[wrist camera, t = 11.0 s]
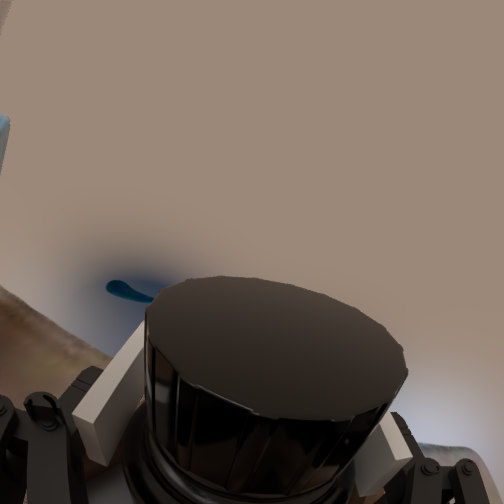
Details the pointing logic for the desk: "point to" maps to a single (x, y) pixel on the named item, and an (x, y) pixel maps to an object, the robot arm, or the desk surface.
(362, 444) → the ink bottle
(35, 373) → the desk surface
